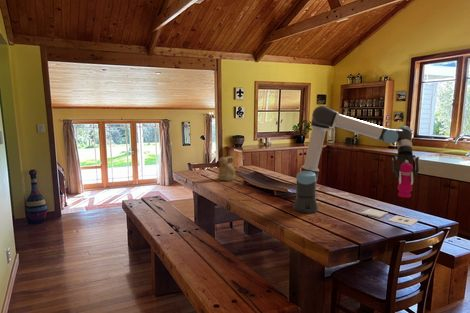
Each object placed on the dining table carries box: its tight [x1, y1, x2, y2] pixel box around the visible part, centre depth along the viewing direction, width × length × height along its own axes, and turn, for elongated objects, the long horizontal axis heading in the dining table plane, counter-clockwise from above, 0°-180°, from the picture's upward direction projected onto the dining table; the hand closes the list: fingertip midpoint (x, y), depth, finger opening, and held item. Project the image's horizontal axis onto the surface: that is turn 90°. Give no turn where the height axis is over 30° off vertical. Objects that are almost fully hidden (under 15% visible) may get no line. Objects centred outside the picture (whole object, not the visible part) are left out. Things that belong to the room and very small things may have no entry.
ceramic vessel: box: [217, 151, 236, 182], centre depth 291 cm, size 17×20×25 cm
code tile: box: [387, 215, 420, 227], centre depth 178 cm, size 12×12×1 cm
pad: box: [360, 208, 389, 219], centre depth 189 cm, size 11×11×1 cm
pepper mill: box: [397, 160, 414, 199], centre depth 175 cm, size 7×7×20 cm
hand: (406, 182), depth 172 cm, fingers closed on pepper mill, 5 cm apart
